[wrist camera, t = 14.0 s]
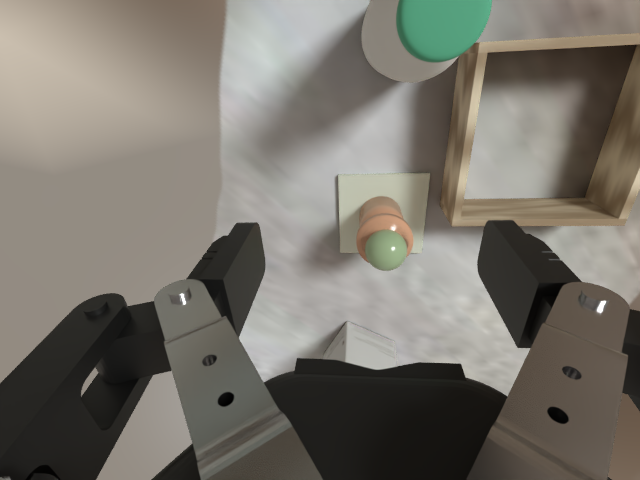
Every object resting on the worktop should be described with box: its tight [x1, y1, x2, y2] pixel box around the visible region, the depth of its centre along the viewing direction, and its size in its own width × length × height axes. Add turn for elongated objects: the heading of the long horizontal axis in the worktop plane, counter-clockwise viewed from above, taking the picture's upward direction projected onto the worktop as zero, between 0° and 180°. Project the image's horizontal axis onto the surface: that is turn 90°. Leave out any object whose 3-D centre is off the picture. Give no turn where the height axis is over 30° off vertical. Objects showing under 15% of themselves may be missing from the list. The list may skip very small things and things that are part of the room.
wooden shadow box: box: [440, 33, 640, 226], centre depth 35 cm, size 18×18×6 cm
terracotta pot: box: [356, 196, 413, 271], centre depth 39 cm, size 6×6×11 cm
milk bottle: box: [361, 0, 492, 83], centre depth 25 cm, size 8×8×20 cm
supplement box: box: [323, 321, 398, 370], centre depth 49 cm, size 9×9×15 cm
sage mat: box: [338, 173, 430, 253], centre depth 44 cm, size 11×11×1 cm
